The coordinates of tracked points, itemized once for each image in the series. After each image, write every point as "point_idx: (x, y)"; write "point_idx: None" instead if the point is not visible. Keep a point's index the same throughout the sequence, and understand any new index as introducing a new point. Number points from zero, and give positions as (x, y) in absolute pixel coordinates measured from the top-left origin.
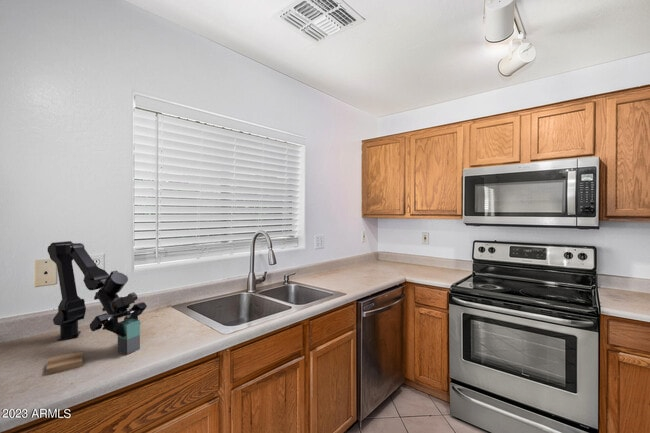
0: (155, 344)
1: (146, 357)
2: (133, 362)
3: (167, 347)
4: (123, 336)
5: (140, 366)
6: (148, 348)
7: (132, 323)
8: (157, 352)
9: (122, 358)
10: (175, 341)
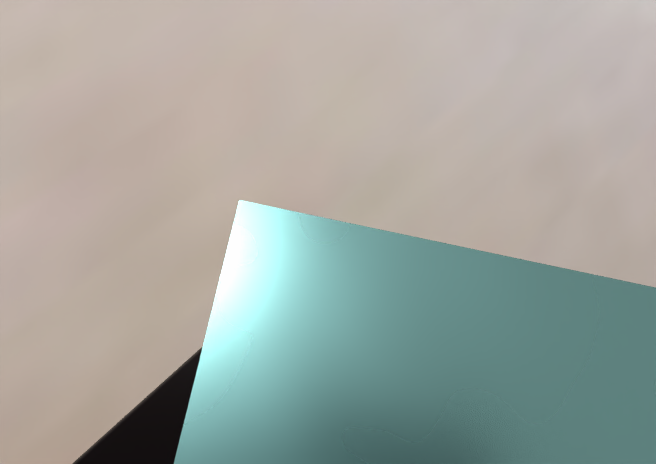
0: (125, 203)
1: (453, 79)
2: (577, 134)
3: (191, 11)
4: None
5: (618, 13)
6: None
7: (591, 287)
8: (326, 41)
9: None
10: (15, 16)
